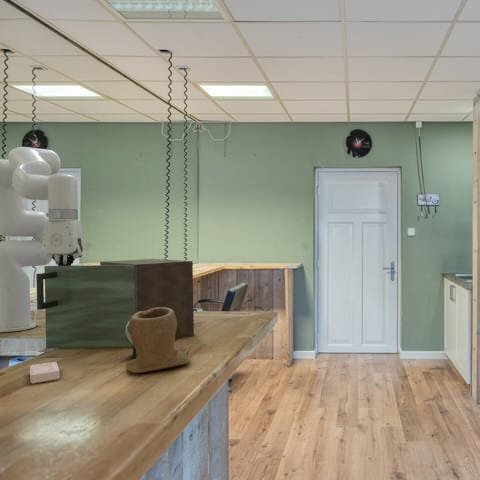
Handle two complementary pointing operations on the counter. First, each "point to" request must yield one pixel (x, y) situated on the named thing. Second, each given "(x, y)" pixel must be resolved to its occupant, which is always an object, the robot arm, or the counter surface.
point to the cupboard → (164, 289)
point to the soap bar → (44, 372)
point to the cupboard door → (87, 305)
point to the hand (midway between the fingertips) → (64, 277)
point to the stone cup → (155, 341)
